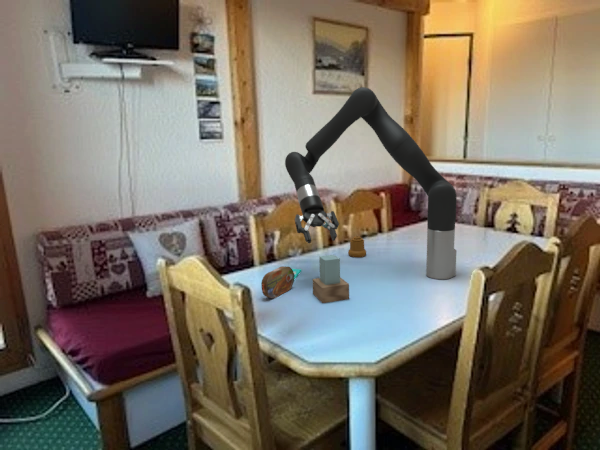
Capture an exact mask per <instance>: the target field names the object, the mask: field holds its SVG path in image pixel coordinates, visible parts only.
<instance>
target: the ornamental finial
mask: <svg viewBox="0 0 600 450" xmlns="http://www.w3.org/2000/svg"><path fill="white" fill-rule="evenodd" d="M347 254H348V256H350V257H351V258H364V257H365V256H366V255H367V250H366V249H365V240H364V239H363V237H361V236H359V235H355V236H354V237H351V239H350V240H349V249H348V253H347Z"/></svg>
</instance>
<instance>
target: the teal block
mask: <svg viewBox="0 0 600 450" xmlns="http://www.w3.org/2000/svg"><path fill="white" fill-rule="evenodd" d="M318 260H319V278H320V281H321V282H323V283H324V284H325V285H329V284H336V283H340V277H341V259H340V258H339V257H338V256H337V255H335V254H328V255H326V254H325V255H319V257H318Z"/></svg>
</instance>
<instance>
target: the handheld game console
mask: <svg viewBox="0 0 600 450" xmlns="http://www.w3.org/2000/svg"><path fill="white" fill-rule="evenodd" d="M291 269H292V270H293V273H294V279H295V278H298V276H299V275H300V274H301V273H302V269H301V268H291ZM299 273H300V274H299ZM298 274H299V275H298ZM295 280H296V279H295Z"/></svg>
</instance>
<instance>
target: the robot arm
mask: <svg viewBox="0 0 600 450" xmlns="http://www.w3.org/2000/svg"><path fill="white" fill-rule="evenodd" d="M359 119H363V121H364V122H365V123H366V124H367V125H368V126H369V127H370V128H371V129H372V131H373V132H374V133H375V135H376V136H377V138H378V140H379V141H380V143H381V144H382V146H383V148H384V149H385V150H386V152H387V153H388V154H389V155H390V157H391V158H392V159H393V160H394V162H395V163H396V164H398V166H400V167H401V169H403V170H404V171H405V172H406V173H407V174H408V175H410V176H411V177H412V178H414V180H415V181H416V182H417V183H418V184H419V186H421V188H422V189H423V191H424V192H425V194H426V196H427V222H426V223H427V229H426V230H427V231H426V233H427V234H426V269H425V275H426V277H428V278H431V279H436V280H448V279H452V278H453V277H456V273H457V270H456V269H457V249H455V240H456V239H455V237H456V236H455V235H456V234H455V233H456V221H457V219H456V217H457V202H458V201H457V200H458V199H457V197H458V195H457V192H456V188H455V187H454V186H453V184H451V183H450V181H448V180H447V179H446V178H445V177H444V176H442V174H441V173H439V171H438V170H437V169H436V168H435V167H434V166H433V165H432V163H431V162H430V160H429V158H428V157H427V156H426V154H425V152H424V151H423V149H422V148H421V147H420V145H418V143H417V142H416V141H415V140H414V138H412V136H411V135H410V134H409V133H408V132H407V131H406V130H405V129H404V127H402V126H401V125H400V124H399V123H398V122H396V121H395V119H394V118H393V117H392V116H390V114H389V113H388V112H387V111H386V109H385V108H384V106H383V104H382V103H381V102H380V100H379V99H378V97H377V95H376V94H375V92H374V91H373V90H372V89H371V88H369V87H364V86H363V87H362V86H361V87H359V88H356V89H355V90H354V91H353V92H352V93H351V95H349V97H348V98H347V100H346V101H345V102H344V104H343V105H342V106H341V108H340V109H339V110H338V111H337V113H336V114H335V115H334V116H332V118H331V119H330V120H329V121H328V122H327V123H326V124H324V126H322V128H320V129H319V130H318V131H317V132H316V133H315V134H314V135H313V136H312V137H311V138H309V140H308V141H307V142H306V143H305V146H304V147H305V149H306V152H307V153H306V155H303V154H301V152H298V151H291V152H289V153H288V154H287V155H286V157H285V160H284V166H285V169H286V172H287V173H288V175H289V177H290V179H291V181H292V182H293V184H294V188H295V192H296V194H297V200H298V204H299V208H300V209H301V210H300V211H301V214H302V215H300V214H298V213H297V214H296V215H295V217H294V222H295V223H294V224H295V228H296V232H297V234H303V237H304V240H305V242H307V244H311V242H312V237H311V234H310V230H309V229H310V228H311V227H312V228H317V227H323V229H326V230H328V231H329V235H330V238H331V241H335V240H336V239H337V236H338V235H337V231H336V230H337V229H338V228H339V226H340V223H339V220H338V218H337V215H336V212H335V211H334V210H333V211H332V210H331V211H330V212H328V213H327V212H326V211H325V208H324V205H323V202H322V199H321V196H320V192H319V191H318V189H317V186H316V182H315V180H314V178H313V176H312V174H311V173H312V171H313V170H314V168H315V167H316V165H317V164H318V162H319V161H320V159H321V157H322V156H323V155H324V154H325V153H326V152H327V151H328V150H329V149H331V148H332V146H333V145H334V144H335V143H336V142H337V141H338V140H339V139H340V137H341V136H342V135H343V134H344V133H345V132H346V130H348V128H350V127H351V125H353V124H354V123H355V122H357V121H358V120H359ZM302 221H303V222H304V223H306V224H305V226H304V227H303V226H302Z"/></svg>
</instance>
